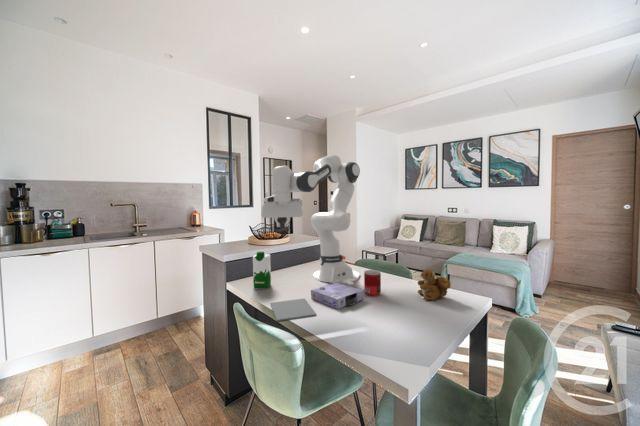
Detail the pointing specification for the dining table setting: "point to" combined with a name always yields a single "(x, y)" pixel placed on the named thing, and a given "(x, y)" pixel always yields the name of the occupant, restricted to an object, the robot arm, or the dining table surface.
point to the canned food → (372, 282)
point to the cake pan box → (337, 295)
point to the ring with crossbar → (348, 281)
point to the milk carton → (261, 270)
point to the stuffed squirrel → (433, 285)
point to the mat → (292, 309)
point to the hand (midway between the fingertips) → (282, 226)
